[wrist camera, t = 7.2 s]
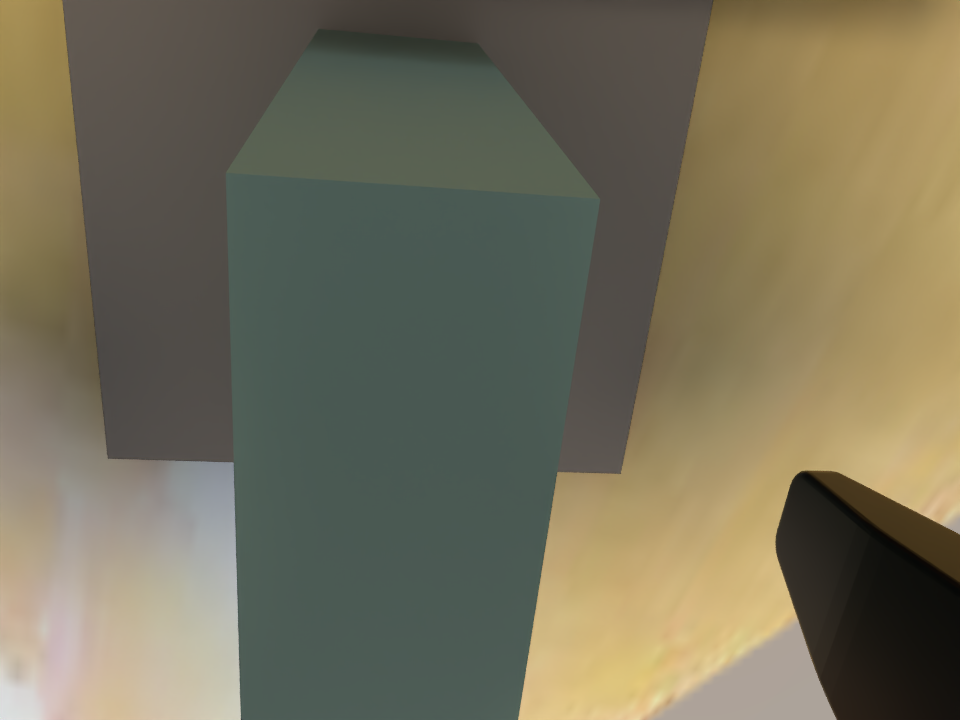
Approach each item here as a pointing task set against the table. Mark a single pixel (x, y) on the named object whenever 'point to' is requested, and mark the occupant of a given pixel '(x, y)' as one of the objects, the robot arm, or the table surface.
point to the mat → (239, 107)
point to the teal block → (397, 380)
